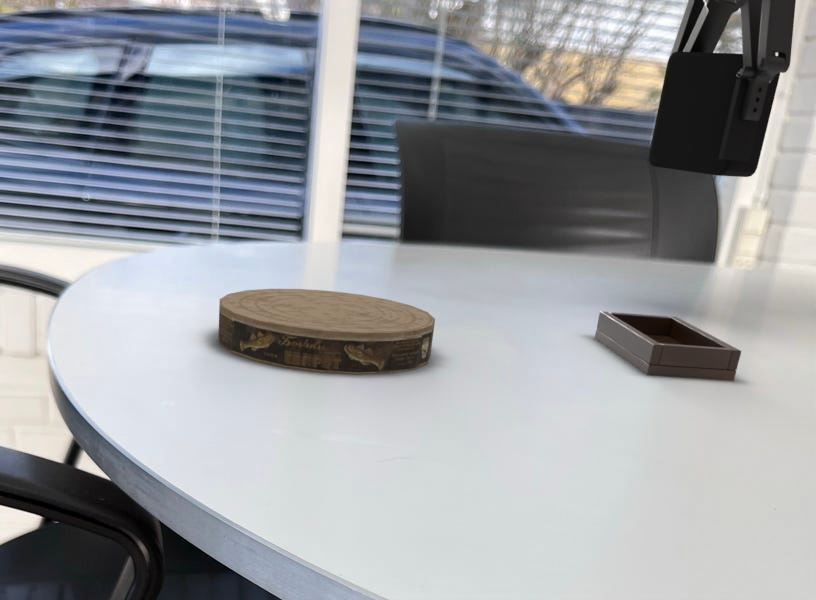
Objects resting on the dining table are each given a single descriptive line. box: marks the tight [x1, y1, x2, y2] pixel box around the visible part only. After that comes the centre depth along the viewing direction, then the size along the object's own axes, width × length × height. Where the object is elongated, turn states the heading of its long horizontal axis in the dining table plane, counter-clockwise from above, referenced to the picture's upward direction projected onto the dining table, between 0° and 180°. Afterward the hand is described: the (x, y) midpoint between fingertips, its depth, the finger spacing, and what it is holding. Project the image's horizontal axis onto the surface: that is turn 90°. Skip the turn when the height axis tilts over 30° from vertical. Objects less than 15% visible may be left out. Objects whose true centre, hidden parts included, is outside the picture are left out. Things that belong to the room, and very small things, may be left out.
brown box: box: [594, 310, 742, 382], centre depth 86 cm, size 7×13×2 cm, turn 5°
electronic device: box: [648, 52, 781, 178], centre depth 101 cm, size 4×10×10 cm, turn 32°
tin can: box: [217, 288, 436, 376], centre depth 78 cm, size 16×16×3 cm
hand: (703, 155), depth 102 cm, fingers closed on electronic device, 10 cm apart
